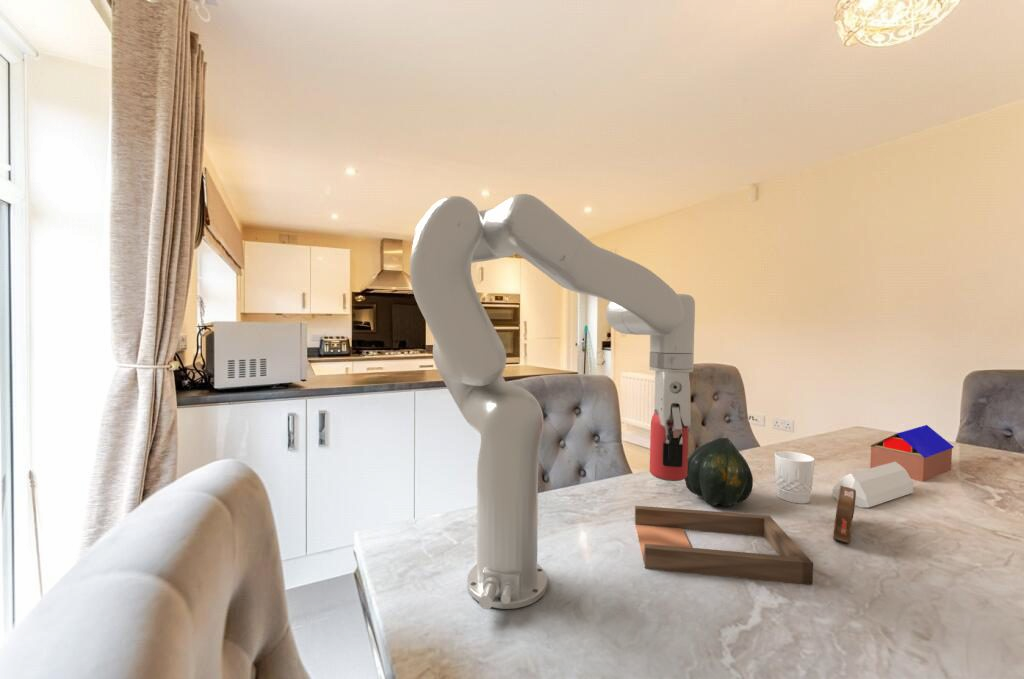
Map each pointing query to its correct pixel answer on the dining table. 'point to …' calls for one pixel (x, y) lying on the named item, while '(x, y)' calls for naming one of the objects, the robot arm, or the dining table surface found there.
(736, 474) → the squash
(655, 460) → the beer can
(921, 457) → the house
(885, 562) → the dining table surface
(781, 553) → the frame
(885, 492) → the crystal
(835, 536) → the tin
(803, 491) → the white cup
